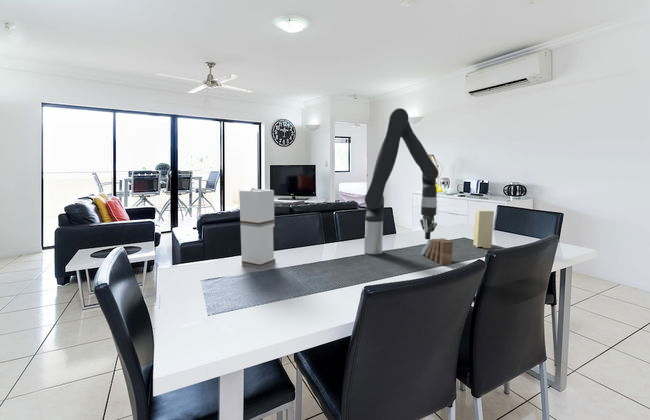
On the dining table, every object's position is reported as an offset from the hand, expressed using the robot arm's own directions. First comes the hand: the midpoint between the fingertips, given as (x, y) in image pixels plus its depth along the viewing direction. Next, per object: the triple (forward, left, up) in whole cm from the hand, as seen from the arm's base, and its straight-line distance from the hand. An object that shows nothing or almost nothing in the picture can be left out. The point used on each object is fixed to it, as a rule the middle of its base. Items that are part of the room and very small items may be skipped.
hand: (427, 239), depth 176 cm
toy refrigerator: (+32, +25, -9) cm, 42 cm away
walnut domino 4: (+7, -15, -8) cm, 19 cm away
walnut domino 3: (+5, -11, -8) cm, 15 cm away
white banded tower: (-80, -32, -9) cm, 86 cm away
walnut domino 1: (+1, -3, -8) cm, 9 cm away
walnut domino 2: (+3, -7, -8) cm, 11 cm away
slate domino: (-1, +1, -8) cm, 8 cm away
